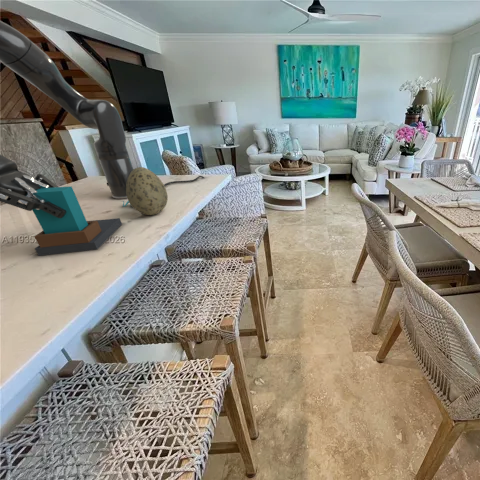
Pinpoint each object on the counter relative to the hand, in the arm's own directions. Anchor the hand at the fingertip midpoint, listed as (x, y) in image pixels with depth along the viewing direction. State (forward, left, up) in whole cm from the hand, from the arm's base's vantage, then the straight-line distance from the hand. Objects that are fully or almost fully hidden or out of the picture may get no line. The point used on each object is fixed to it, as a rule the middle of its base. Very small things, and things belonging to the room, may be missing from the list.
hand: (69, 211), depth 63 cm
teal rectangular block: (+1, -1, -5) cm, 5 cm away
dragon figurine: (-23, -20, -9) cm, 31 cm away
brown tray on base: (-2, -5, -9) cm, 10 cm away
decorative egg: (-21, -6, -9) cm, 24 cm away
